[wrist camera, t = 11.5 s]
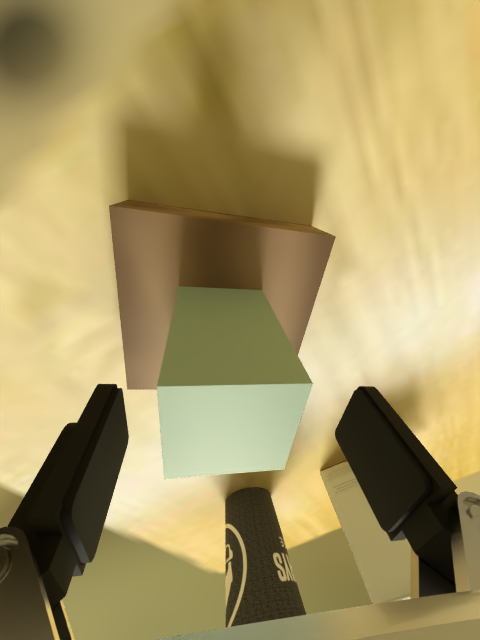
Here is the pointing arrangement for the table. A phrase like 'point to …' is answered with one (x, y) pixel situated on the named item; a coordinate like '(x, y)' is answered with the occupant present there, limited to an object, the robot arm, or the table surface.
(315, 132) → the table surface
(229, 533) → the coffee cup
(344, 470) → the supplement box
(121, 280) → the block
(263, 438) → the sage block
